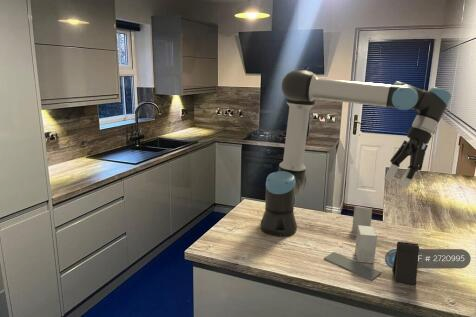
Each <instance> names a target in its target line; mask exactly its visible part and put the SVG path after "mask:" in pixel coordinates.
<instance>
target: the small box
mask: <svg viewBox="0 0 476 317" xmlns="http://www.w3.org/2000/svg"><path fill="white" fill-rule="evenodd" d="M355 238H356V239H355V249H354V252H355V256H356V261H357V262H359V263H365V264H366V263H369V264H375V257H376V249H377V239H378V235H377V232H376V230H375V227H374V226H360V225H358V226H357V231H356V237H355Z"/></svg>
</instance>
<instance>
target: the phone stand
mask: <svg viewBox="0 0 476 317" xmlns="http://www.w3.org/2000/svg"><path fill="white" fill-rule="evenodd" d="M419 252H420V245H419V244H418V243H414V242H413V243H411V242H406V241H405V242H404V241H397V242H396V250H395V253H394V254H395V255H394V259H393V262H392V267H391V270H392V274H393V279H394V282H395V284H400V285H401V284H402V285H407V286H413V287H416V286H417V281H418V280H417V277H418V263H419V260H418V259H419Z"/></svg>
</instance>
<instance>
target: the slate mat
mask: <svg viewBox="0 0 476 317" xmlns="http://www.w3.org/2000/svg"><path fill="white" fill-rule="evenodd" d="M323 260H324V261H328V262H329V263H332V264H333V265H336V266H338V267H341V268H342V269H345V270H347V271H349V272H352V273H354V274H356V275H359V276H360V277H363V278H365V279H368V280H370V281H372V282H373V281H374V280H375V279H376V278H377V277H379V276H380V275H381V274H382V271H380V270H377V269H375V268H374V267H370V266H368V265H366V264H363V263H362V262H358V260H355V259H351V258H349V257H346V256H344V255H342V254H341V253H337V252H335V251H334V252H331V253H330V254H328V255H327V256H325V257H323Z"/></svg>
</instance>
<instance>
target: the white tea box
mask: <svg viewBox="0 0 476 317" xmlns="http://www.w3.org/2000/svg"><path fill="white" fill-rule="evenodd" d="M372 216H373V208H368V207H363V206H362V207H361V206H356V205H355V206H354V211H353V216H352V217H353V219H352V227H351V228H352V229H351V230H352V231H355V232H357V226H358V225H360V226H370V227H372V226H371V225H372Z"/></svg>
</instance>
